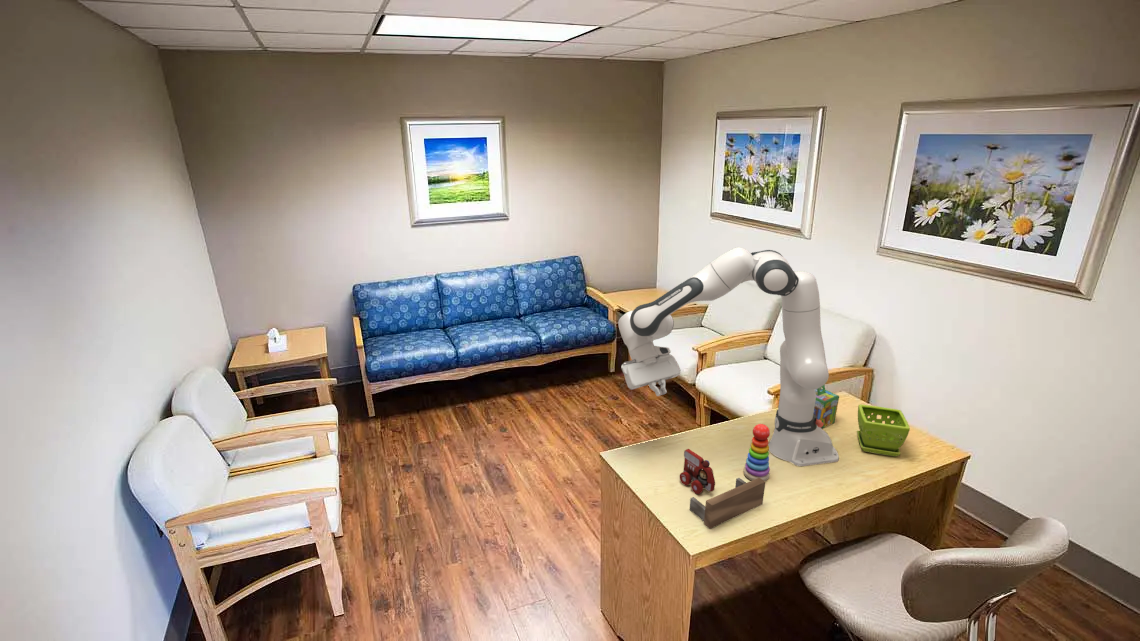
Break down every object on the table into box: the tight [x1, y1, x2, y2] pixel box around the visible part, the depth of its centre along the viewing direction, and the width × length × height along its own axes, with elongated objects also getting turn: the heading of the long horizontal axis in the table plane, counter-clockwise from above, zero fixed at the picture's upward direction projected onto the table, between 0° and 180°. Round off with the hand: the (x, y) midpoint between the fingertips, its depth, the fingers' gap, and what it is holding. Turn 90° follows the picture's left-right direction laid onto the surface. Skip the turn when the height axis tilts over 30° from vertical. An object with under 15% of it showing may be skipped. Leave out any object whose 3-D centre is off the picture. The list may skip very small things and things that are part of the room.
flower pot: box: [856, 403, 911, 457], centre depth 190 cm, size 14×14×13 cm
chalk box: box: [813, 383, 840, 429], centre depth 207 cm, size 9×9×15 cm
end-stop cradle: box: [688, 477, 766, 530], centre depth 161 cm, size 9×21×8 cm, turn 120°
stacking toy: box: [743, 423, 771, 482], centre depth 174 cm, size 8×8×19 cm
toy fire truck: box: [679, 448, 716, 495], centre depth 171 cm, size 7×12×10 cm, turn 32°
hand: (662, 394), depth 180 cm, fingers closed
